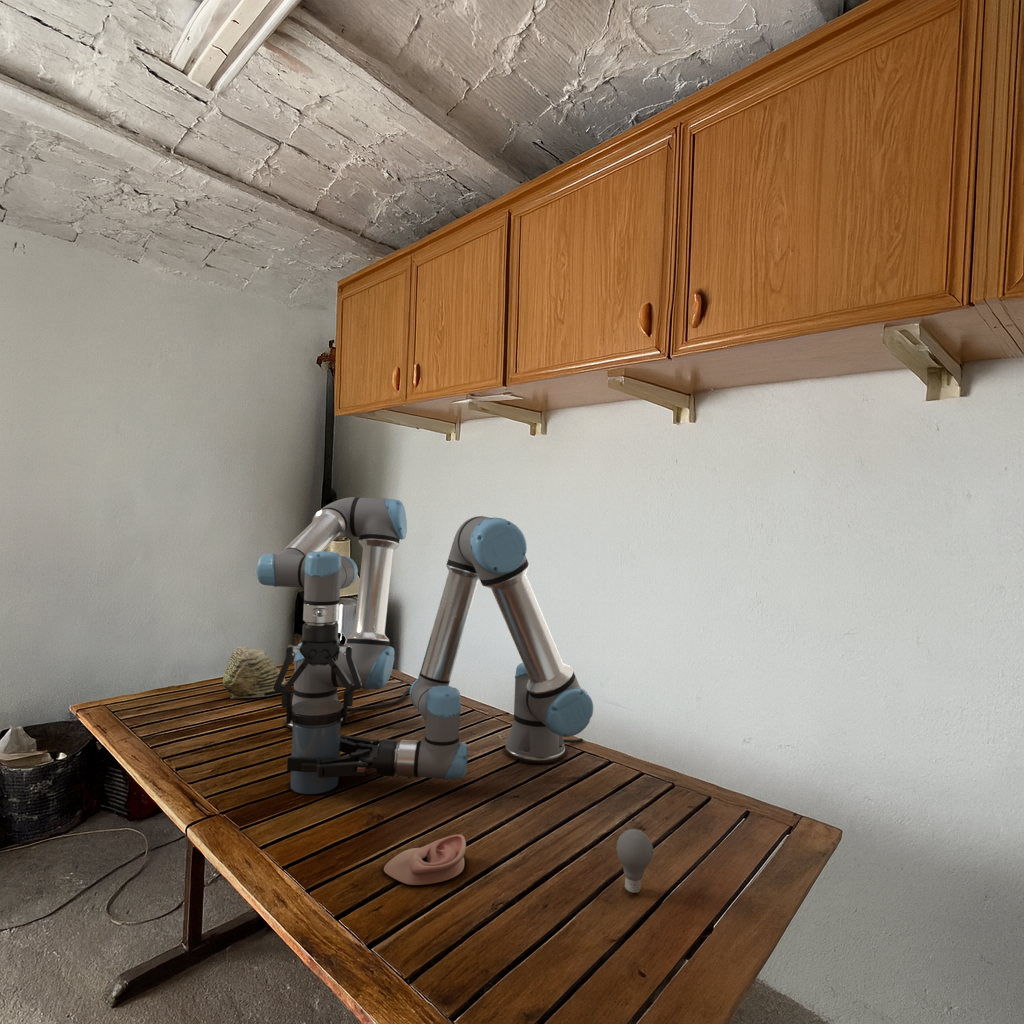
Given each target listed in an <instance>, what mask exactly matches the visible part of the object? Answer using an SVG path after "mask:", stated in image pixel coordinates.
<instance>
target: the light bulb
mask: <svg viewBox="0 0 1024 1024" xmlns="http://www.w3.org/2000/svg"><path fill="white" fill-rule="evenodd" d="M615 849H616V854H617V857H618V859H619V861H620V863H621V865H622V867H623V873H624V874H623V875H624V876H625V878H624V888H625V890H627V891H628V892H630V893H634V894H635V893H639V892H640V891H641V889H642V887H641V886H642V879H643V877H644V875H645V871H646V868H647V867H648V866H649V864H650V863H651V861H652V859H653V855H654V847H653V843H652V841H651V838H649V836H648V835H647V834H646V833H645V832H643V831H642V830H641V829H636V828H629V829H627V830H625V831H623V832H622V833H621V834H620V835H619V837H618V839H617V841H616V847H615Z"/></svg>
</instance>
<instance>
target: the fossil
mask: <svg viewBox="0 0 1024 1024" xmlns="http://www.w3.org/2000/svg"><path fill="white" fill-rule="evenodd" d="M280 671H281V669H279V668H278V667H277V665H276V663H275V662H274V660H273V659H272V658H271V657H270V656H269V655H268V654H267V653H266V652H265V650H264V649H263V648H260V647H258V648H251V647H247V646H246V647H245V646H238V647H237V648H236V649H235V650H233V651H232V653H231V656H230V657H229V659H228V660H227V663H226V666H225V668H224V671H223V675H222V676H223V677H222V685H223V687H224V688H225V690H226V691H228V693H229V698H230V699H250V698H264V697H271V696H275V695H281V694H282V693H281V692H280V691H275V690H274V689H273V687H274V685H275V682H276V680H277V678H278V675H279V673H280ZM285 677H286V676H285ZM285 677H284V679H283V682H282V684H283V685H285V684H286V683H287V680H286V678H285Z"/></svg>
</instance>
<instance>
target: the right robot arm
mask: <svg viewBox="0 0 1024 1024" xmlns="http://www.w3.org/2000/svg"><path fill="white" fill-rule="evenodd" d="M527 549H528V548H527V540H526V537H525V534H524V533H523V531H522V530H521V529H520V527H519V526H517V525H516V524H515V523H513V522H512V521H510V520H507V519H505V518H502V517H496V516H495V517H490V516H489V517H488V516H484V515H479V516H473V517H471V518H468V519H466V520H465V521H464V522H463V523H462V524H461V525H460V526H459V528H458V529H457V531H456V533H455V536H454V537H453V540H452V544H451V547H450V551H449V554H448V559H447V561H446V565H445V566H446V568H447V570H448V574H447V577H446V581H445V584H444V587H443V590H442V594H441V597H440V600H439V601H440V602H439V605H438V608H437V612H436V616H435V618H434V622H433V626H432V629H431V632H430V636H429V640H428V644H427V647H426V650H425V654H424V657H423V661H422V664H421V667H420V671H419V673H418V678H417V679H415V680H414V681H413V683H411V686H410V687H411V688H410V687H409V688H410V691H409V697H410V701H411V703H412V705H413V707H414V708H415V709H416V710H417V711H418V713H419V714H420V715H421V717H422V719H423V720H424V740H423V741H422V740H415V739H414V740H413V739H400V741H398V739H385V738H383V739H381V740H380V739H372V738H371V739H370V738H364V737H360V736H359V737H358V736H352V735H348V734H347V735H346V734H341V738H340V753H344V754H347V755H344V756H340V757H338V758H332V759H326V760H321V758H320V757H318V758H304V757H291V756H288V757H287V762H286V764H287V765H286V771H287V772H291V771H300V772H317V774H318V778H328V777H339V778H340V777H350V776H360V777H364V776H365V777H366V775H367V770H370V769H375V770H376V774H377V776H380V777H394V776H395V775H396V776H397V777H401V778H402V777H405V778H407V779H409V780H411V779H412V778H426V779H441V780H460V779H463V778H464V777H465V776H466V774H467V771H468V770H467V768H468V756H469V755H468V753H469V751H468V750H469V746H468V744H467V743H466V742H462V741H460V721H461V709H462V702H461V691H460V690H459V689H458V688H456V687H453V686H451V685H450V683H451V678H452V675H453V672H454V668H455V664H456V661H457V657H458V654H459V650H460V646H461V643H462V639H463V636H464V633H465V630H466V626H467V623H468V619H469V616H470V612H471V610H472V605H473V602H474V598H475V594H476V591H477V588H478V584H479V581H480V583H481V586H483V587H485V588H488V589H490V590H491V592H492V595H493V597H494V599H495V601H496V604H497V607H498V608H499V610H500V613H501V615H502V618H503V620H504V622H505V625H506V627H507V629H508V631H509V634H510V636H511V638H512V641H513V643H514V645H515V647H516V651H517V653H518V654H519V657H520V659H521V663H519V664H518V665H517V666H516V668H515V675H514V700H513V701H514V704H513V706H514V707H513V722H512V724H511V727H510V730H509V732H508V735H507V738H506V741H505V749H504V751H505V754H506V755H507V756H508V757H510V758H511V759H513V760H516V761H518V762H521V763H527V764H533V765H544V764H545V765H547V764H551V763H556V762H558V761H561V759H563V758H564V757H565V755H566V754H565V753H566V745H565V743H566V744H568V743H569V744H570V743H571V744H578V743H581V742H583V741H584V739H583V738H578V739H577V738H576V739H565V738H569V737H574V736H576V735H578V734H580V733H582V732H584V730H585V729H586V728H587V727H588V725H589V724H590V723H591V719H592V717H593V714H594V703H593V699H592V697H591V695H590V694H589V693H588V692H587V691H586V689H583V688H582V687H581V685H580V683H579V681H578V679H577V677H576V673H575V672H574V670H573V667H572V666H570V665H569V664H566V663H564V662H563V660H562V657H561V655H560V653H559V652H560V651H559V650H558V648H557V645H556V643H555V640H554V638H553V636H552V633H551V631H550V628H549V626H548V624H547V622H546V619H545V617H544V613H543V612H542V610H541V606H540V605H539V602H538V600H537V597H536V595H535V593H534V590H533V588H532V585H531V582H530V581H529V578H528V576H527V572H528V570H529V567H530V563H529V561H528V559H527V556H526V553H527V552H528V551H527Z"/></svg>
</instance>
